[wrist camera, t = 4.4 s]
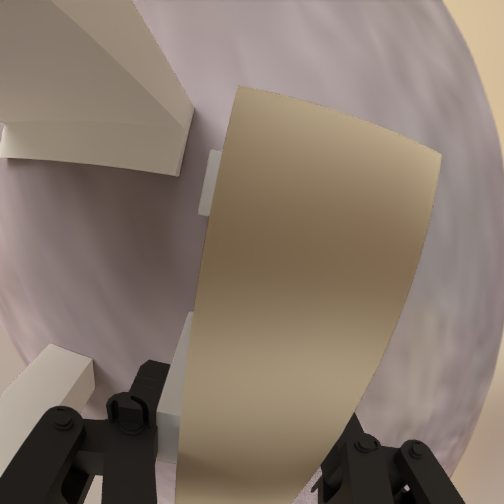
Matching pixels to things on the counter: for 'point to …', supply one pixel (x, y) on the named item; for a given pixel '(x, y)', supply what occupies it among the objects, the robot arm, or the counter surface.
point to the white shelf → (80, 140)
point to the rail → (295, 292)
